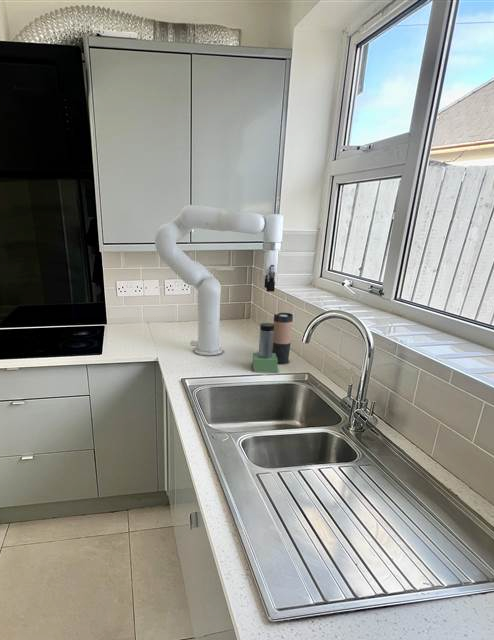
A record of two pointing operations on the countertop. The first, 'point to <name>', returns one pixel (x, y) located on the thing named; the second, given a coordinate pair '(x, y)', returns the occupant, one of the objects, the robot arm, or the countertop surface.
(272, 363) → the green block
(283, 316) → the travel mug
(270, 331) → the steel flask
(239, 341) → the countertop surface
